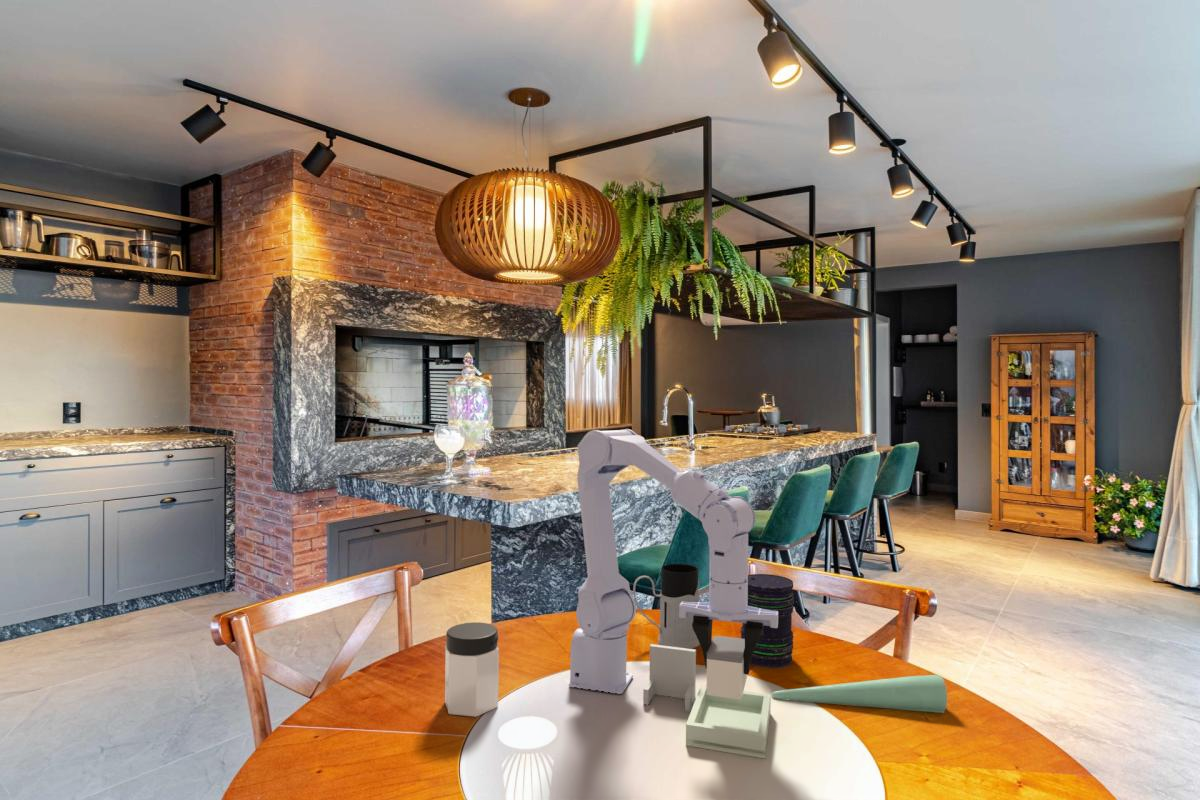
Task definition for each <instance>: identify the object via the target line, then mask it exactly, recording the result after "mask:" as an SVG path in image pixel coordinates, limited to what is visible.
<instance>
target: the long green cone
mask: <svg viewBox="0 0 1200 800" xmlns="http://www.w3.org/2000/svg"><path fill="white" fill-rule="evenodd" d="M771 698H772V699H774V698H777V699H776V700H782V699H789V700H788V701H793V700H797V702H805V701H808V702H807V703H819V704H831V705H843V706H855V707H864V708H865V707H867V708H879V709H890V710H893V709H895V710H906V711H914V712H915V711H917V712H928V713H929V712H930V713H941V714H944V713H945V710H946V709H947V706H948V691H947V687H946V682H945V680H944V678H943V676H942V675H941V674H929V675H911V676H909V675H908V676H901V677H893V678H892V677H891V678H890V677H889V678H882V679H873V680H864V681H855V682H845V683H835V684H827V685H817V686H807V687H806V686H805V687H797V688H790V689H789V688H788V689H781V690H774V691H772V693H771Z"/></svg>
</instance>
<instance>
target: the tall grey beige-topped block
mask: <svg viewBox="0 0 1200 800" xmlns="http://www.w3.org/2000/svg"><path fill="white" fill-rule="evenodd" d="M744 658H745V639H742V638H740V637H733V636H722V635H714V636H713V637H712V643H711V645H710V647H709V650H708V652H707V669H706V686H707V695H712V696H719V697H726V698H733V699H740V700H742V695H743V691H745V686H746V682H747V677H748V676H747V675H748V674H744Z"/></svg>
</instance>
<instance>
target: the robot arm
mask: <svg viewBox="0 0 1200 800" xmlns="http://www.w3.org/2000/svg"><path fill="white" fill-rule="evenodd" d="M577 454H578V461H579V465H578V469H577V476H576V478H577V479H576V481H577V487H578V498H579V506H580V507H579V508H580V515H581V524H582V534H583V542H584V545H583V546H584V553H585V561H586V570H587V571H586V572H587V578H586V579H585V581H584V582H583V584H582V585H581V586H580V587H579V589H578V592H577V596H578V597H577V598H578V601H577V606H576V612H575V614H576V620H577V624H578V626H579V627H578V628H576V629H575V631H574V632H573V635H572V638H571V644H570V664H569V665H570V670H569V671H570V673H569V674H570V675H569V677H570V678H569V681H570V682H569V683H568V686H569V687H570V686H571V687H570V688H574V687H577V689H581V688H583V689H582V690H588V689H591V690H590V691H595V690H599V691H598V692H601V691H604V693H608V692H610V693H609V694H615V693H617V694H616V695H622V694H623V693H624V692H625V689H626V688H627V687H628V685H629V683H630V682H631V680H632V679H633V677H634V674H633V673H631V672H627V658H628V656H627V652H628V651H627V650H628V649H627V643H628V636H627V635H628V634H627V633H628V630H629V629H630V623H631V622H632V621H634V619H635V617H636V612H637V606H636V603H635V600H634V596H633V593H632V592H631V588H630V582H629V581H628V580H627V579H626V578H625V577H624V576H622V575H621V574H620V570H619V562H618V561H619V559H618V553H617V552H618V551H617V545H616V544H617V543H616V533H615V528H614V527H615V525H614V519H613V517H614V515H613V510H612V509H613V508H612V501H611V499H612V498H611V491H610V489H611V488H610V484H611V483H612V482H613V480H614V479H615V477H616V476H618V473H620V472H622V471H623V470H624V469H626V468H628V467H629V466H634V467H635V468H638V469H639V470H640V471H642V472H644V473H645V474H646V475H648V476H649V477H650V478H652V479H654V480H656V481H657V482H659V483H660V484H661V485H663V486H664V487H666V488H668V489H669V491H670V492H669V493H670V498H671V500H672V501H673V502H675V503H676V504H677V505H679V506H681V507H682V508H683V509H684V510H686V511H687V512H688V513H690V514H691V515H692V516H694V517H695V518H696V519H697V520H699V521H700V522H701V525H702V528H703V530H704V532H705V533H706V535H707V538H708V539H707V540H708V546H709V565H708V567H709V570H708V571H709V572H708V573H709V577H708V578H709V579H708V583H709V584H708V585H709V587H708V601H706V602H705V601H699V602H681V604H680V605H679V617H680V618H687V617H692V618H693V623H692V628H693V631H694V632H695V634H696V636H697V639H698V641H699V643H700V645H699V646H700V648H701V652H702V656H703V661H704V665H705V667H704V668H705V670H707V652H708V650H709V647H710V645H711V643H712V640H713V636H712V635H713V634H712V633H713V621H719V622H720V621H721V622H730V623H731V622H732V623H737V624H738V623H740V624H743V623H747V624H746V626H745V630H744V636H745V658H744V674H747V675H749V674H750V669H751V664H750V662H751V658H752V654H753V652H754V649H755V647H756V644H757V642H758V640H759V638H760V636H761V634H762V631H763V626H764V625H766V626H770V627H771V628H778V611H771V610H766V609H761V608H756V607H751V606H748V575H749V532H750V531H752V530H753V528H754V526H755V524H756V513H755V510H754V508H753V506H752V505H751V503H750V502H749V501H747V499H746V498H745V497H743V496H740V495H737V496H736V495H735V496H730V495H729V491H728V490H726V489H724V488H721V489H720V488H719V487H718V486H716V485H715V484H713V483H712V482H711V481H709V480H708V479H706V478H705V477H706V474H705V473H703V472H702V471H701V470H696V471H695V470H692V469H689V470H685V471H682V470H681V469H680V468H679V467H677V466H676V465H675V464H673V463H672V462H671V461H670V460H668V459H667V458H666V457H665V456H664V455H663V454H661V453H660V452H658V451H657V450H656V448H655V449H654V447H652V446H651V445H650V444H648V443H647V441H646V439H645V437H644V436H642V435H639V434H637V433H636V432H635V431H634V430H632V429H629V428H625V429H624V428H622V429H619V430H618V429H616V430H615V429H614V430H598V429H597V430H596V429H595V430H594V429H593V430H590V431H588V432H587V433H586V434H584V436H583V438H582V439H581V440H580V442H579V443H578V444H577Z"/></svg>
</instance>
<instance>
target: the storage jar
mask: <svg viewBox="0 0 1200 800" xmlns="http://www.w3.org/2000/svg"><path fill="white" fill-rule="evenodd" d="M793 588H794V581H793V580H792V579H790V578H788V577H785V576H782V575H777V574H776V575H775V574H768V573H754V574H753V573H752V574H748V606H751V607H756V608H761V609H766V610H771V611H778V628H771V627H770V626H766V625H764V626H763V631H762V634H761V636H760V638H759V640H758V642H757V644H756V647H755V649H754V652H753V654H752V658H751V662H750V665H751V666H754V667H755V666H756V667H758V668H759V667H760V668H765V669H780V668H781V669H783V668H786V667H789V666H790V665H791V664H792V663H793V657H792V656H793V655H792V654H793V649H794V641H793V640H794V631H793V630H792V627H793V626H792V618H793V617H792V615H793V612H794V609H795V608H794V602H795V599H794V597H795V596H794V589H793ZM741 624H742V626H740V637H739V638H742V639H745V636H744V630H745V626H746V624H747V623H741Z"/></svg>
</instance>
